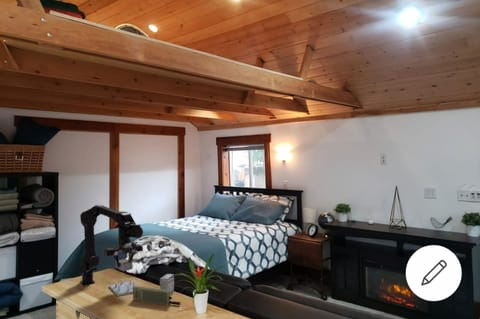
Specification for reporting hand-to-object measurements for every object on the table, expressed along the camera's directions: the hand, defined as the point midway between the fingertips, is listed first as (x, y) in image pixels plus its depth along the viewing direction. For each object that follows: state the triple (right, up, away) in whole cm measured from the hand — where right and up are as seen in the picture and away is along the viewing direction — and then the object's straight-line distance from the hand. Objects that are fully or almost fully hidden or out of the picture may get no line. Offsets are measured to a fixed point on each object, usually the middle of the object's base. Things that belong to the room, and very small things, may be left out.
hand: (123, 266), depth 183 cm
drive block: (0, -1, 0) cm, 1 cm away
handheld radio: (+21, -12, -17) cm, 30 cm away
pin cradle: (0, -12, 0) cm, 12 cm away
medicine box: (+24, -12, -5) cm, 27 cm away
